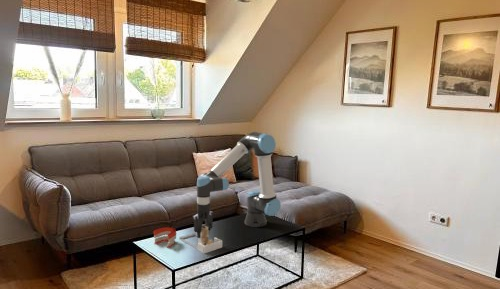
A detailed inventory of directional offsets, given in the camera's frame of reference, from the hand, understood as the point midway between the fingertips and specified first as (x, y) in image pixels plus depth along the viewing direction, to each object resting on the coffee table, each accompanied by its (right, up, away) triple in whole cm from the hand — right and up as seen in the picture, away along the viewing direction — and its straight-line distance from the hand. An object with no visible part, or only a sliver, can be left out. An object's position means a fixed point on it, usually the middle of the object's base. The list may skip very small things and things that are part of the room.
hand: (203, 241), depth 215 cm
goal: (+4, -3, -4) cm, 6 cm away
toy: (-22, -2, +3) cm, 22 cm away
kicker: (0, -2, 0) cm, 2 cm away
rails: (-4, -1, +5) cm, 7 cm away
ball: (+4, -1, -4) cm, 6 cm away
